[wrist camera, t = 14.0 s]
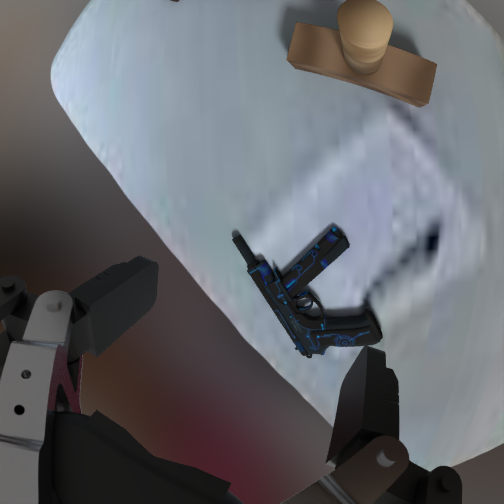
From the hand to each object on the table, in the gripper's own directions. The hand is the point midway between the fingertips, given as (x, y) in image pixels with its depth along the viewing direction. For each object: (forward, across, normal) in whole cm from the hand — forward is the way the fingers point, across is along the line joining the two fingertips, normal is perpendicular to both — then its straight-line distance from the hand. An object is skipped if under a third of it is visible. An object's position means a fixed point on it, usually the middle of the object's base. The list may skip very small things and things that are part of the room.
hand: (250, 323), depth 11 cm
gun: (+31, -3, +14) cm, 34 cm away
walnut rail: (+30, 0, -16) cm, 34 cm away
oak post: (+25, 0, -16) cm, 30 cm away
